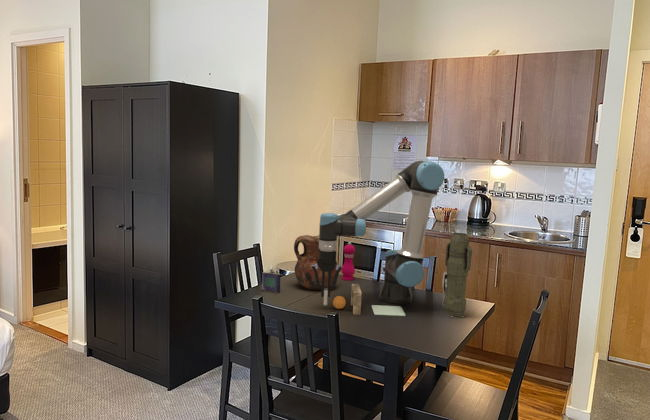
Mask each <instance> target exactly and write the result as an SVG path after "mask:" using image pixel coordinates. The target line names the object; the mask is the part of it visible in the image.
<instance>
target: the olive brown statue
mask: <svg viewBox="0 0 650 420" xmlns="http://www.w3.org/2000/svg"><path fill="white" fill-rule="evenodd" d="M449 240H450V242H447V244H446V246H445V247H446V248H445V249H446V250H445V267H446V271H445V272H446V273H447V287H446V296H445V298H444V306H443V314H444V313H445V314H446V315H449V316H453V317H462V316H464V317H465V314H466V313H465V311H466V305H467V300H466V290H467V279H468V276H469V271H470V270H471V268H472V267H471V266H472V256H473V249H472V247H471V246H470V245H469V244H470V240H469V235H468V234H467V233H463V232H455V233H452V235H451V237H450V239H449ZM446 315H445V316H446ZM462 318H463V317H462Z"/></svg>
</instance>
